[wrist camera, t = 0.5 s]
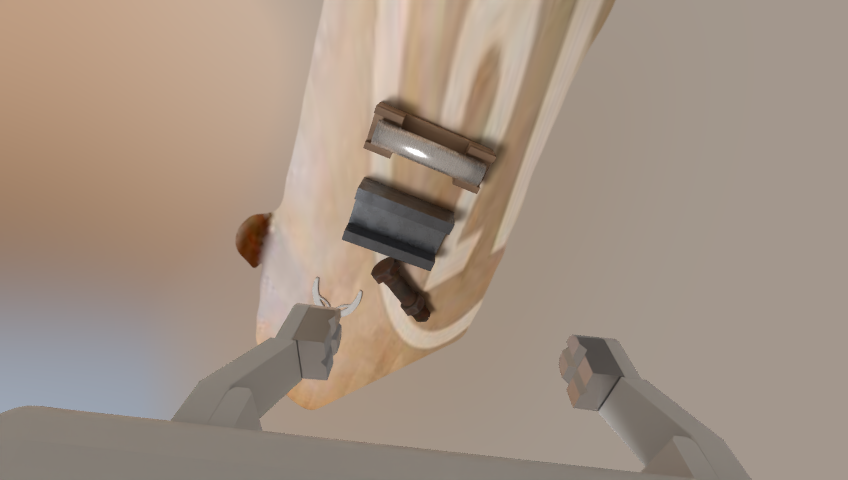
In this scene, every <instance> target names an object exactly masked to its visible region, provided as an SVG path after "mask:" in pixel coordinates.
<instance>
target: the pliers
mask: <svg viewBox="0 0 848 480" xmlns="http://www.w3.org/2000/svg"><path fill="white" fill-rule="evenodd" d="M318 283H319V277H316V279H315V281H314V284H313V289H312V294H313V299H314V302H315V304H316V305H318V306H324V304H323V303H322V301H321V300H323V301H324V302H325V303H326V304H327V305H328V307H330V304H329V303H328V301H327V300H326V299H325V298H323V297H322V296H321V295H320V294H319V289H318ZM361 296H362V290H360V291H359V293H358V295H357V297H356V298H355V300H354V301H353V302H352V304H344V305H340V306H338V307H336V308H341V307H347V308H346V309H344V310H341V317H343V316H346V315H348V314H350V313H351V312H352V311H354V309H355V308H356V307H357V306H358V304H359V302H360V300H361Z"/></svg>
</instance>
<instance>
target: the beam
mask: <svg viewBox="0 0 848 480" xmlns="http://www.w3.org/2000/svg"><path fill="white" fill-rule="evenodd" d="M374 113H375V115H374V118H373V121H372V124H371V128H370V131H369V134H368V138H367V140H366V141H365V145H364V148H365V149H367V150H370V151H372V152H375V153H377V154H380V155H382V156H385V157H387V158H389V159H390V157H391V155H392V152H390V151H387V150H385V149H382V148H380V147H377V146H375V145H372V144H371V140H372V137H373V133H374V130H375V128H376V125H377V123H378V121H379V119H381V120H383V121H386V122H388V123H390V124H393V125H395V126H397V127H400V128H402V129H404V130H407V131H409V132H412V133H414V134H416V135H419V136H421V137H423V138H426V139H428V140H430V141H433V142H435V143H437V144H440V145H442V146H445V147H447V148H449V149H452V150H454V151H456V152H459V153H461V154H463V155H466V156H468V157H471V158H473V159H475V160H478V161H480V162H482V163H485V164H486V171H485V174H486V172H487V170H488V168H489V166H490V164H491V163H492V164H493V163H494V161H495V159H496V156H495V154H494V152H493V150H492V149H489V148H487V147H485V146H482V145H480V144H478V143H476V142H473V141H471V140H469V139H466V138H464V137H462V136H459V135H457V134H455V133H452V132H450V131H448V130H445V129H443V128H441V127H439V126H436V125H434V124H432V123H429V122H427V121H425V120H422V119H420V118H418V117H415V116H413V115H411V114H408V113H406V112H404V111H402V110H399V109H397V108H395V107H392V106H390V105H388V104H385V103H383V102H380V103H379V104H378V105H377V106H376V108H375V111H374ZM485 174H484V176H485ZM484 176H483V178H484ZM452 178H453V177H452ZM483 178H482V180H483ZM482 180H481V181H482ZM480 183H481V182H480ZM453 185H456V186H458V187H461V188H463V189H466V190H468V191H471V192H473V193H476V194H477V193H478V191H479V189H480V187H479V185H480V184H479V185H478V186H477V187H475V186H472V185H470V184H468V183H465V182H463V181H460V180H458V179H455V178H453Z"/></svg>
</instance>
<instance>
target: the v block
mask: <svg viewBox="0 0 848 480" xmlns="http://www.w3.org/2000/svg"><path fill="white" fill-rule="evenodd" d="M355 199H356V201H355V204H354V208H353V211H352V214H351V217H350V220H349V223H348V225H347V227H346V229H345V231H344V234H343V237H342V240H345V241H347V242H350V243H353V244H356V245H359V246H361V247H364V248H367V249H370V250H373V251H375V252H378V253H381V254H384V255H386V256H389V257H392V258H395V259H398V260H400V261H403V262H406V263H409V264H412V265H414V266H417V267H420V268H423V269H426V270H428V271H431V269H432V267H433V265H434V263H435V254H436V252H437V250H438V248H439V246H440V244H441V242H442V240H443V238H444V236H445V234H448V235H449V234H450V232H451V231H452V229H453V227H454V212H451V211H449V210H446V209H444V208H441V207H439V206H436V205H434V204H431V203H429V202H426V201H423V200H421V199H418V198H416V197H413V196H411V195H408V194H406V193H403V192H401V191H398V190H395V189H393V188H390V187H388V186H385V185H383V184H380V183H378V182H375V181H372V180H370V179H367V178H365V177H364V179H363V180H362V182H361V184H360V185H359V187H358V190H357V193H356V196H355Z"/></svg>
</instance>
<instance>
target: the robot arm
mask: <svg viewBox="0 0 848 480" xmlns="http://www.w3.org/2000/svg"><path fill="white" fill-rule="evenodd" d="M340 318H341V310H340V309H339V308H333V307H325V306H318V305H308V304H301V303H297V304H295V305H294V306H293V308H292V310H291V311H290V313H289V315H288V317H287V318H286V320H285V322H284V323H283V325H282V327H281V329H280V330H279V332H278V334H277V335H276V337H275V338H269V339H268V340H266V341H264V342H263V343H261V344H259V345H258V346H256V347H255V348H253V349H251V350H250V351H248V352H247V353H245V354H243V355H242V356H240V357H238V358H237V359H235V360H233V361H232V362H230V363H229V364H227V365H225V366H224V367H222V368H221V369H219V370H217V371H216V372H214V373H212V374H211V375H209V376H207V377H206V378H204V379H202V380H201V381H199V383H198V384H197V386H196V387H195V389H194V390H193V391H192V392H191V394H190V395H189V396H188V398H187V399H186V400H185V402H184V403H183V404H182V406H181V407H180V409H179V410H178V411H177V413H176V414H175V415H174V417H173V418H172V419H171V421H167V420H158V419H149V418H140V417H130V416H122V415H113V414H104V413H95V412H84V411H76V410H68V409H59V408H52V407H44V406H23V407H18V408H14V409H11V410H8V411H6V412H3V413H1V414H0V480H751V478H750V477H749V475H748V474H747V473H746V471H745V470H744V468H743V467H742V465H741V464H740V463H739V461H738V460H737V458H736V457H735V456H734V454H733V453H732V451H731V450H730V449H729V447H728V446H727V444H726V443H725V442H724V440H723V439H722V438H720V437H719V436H718V435H716V434H715V433H714V432H712V431H711V430H710V429H709V428H707V427H706V426H705V425H704V424H702V423H701V422H700V421H698V420H697V419H696V418H695V417H693V416H692V415H691V414H689V413H688V412H687V411H685V410H684V409H683V408H682V407H680V406H679V405H678V404H677V403H675V402H674V401H673V400H671V399H670V398H669V397H668V396H666V395H665V394H663V393H662V392H661V391H660V390H659V389H657V388H656V387H655V386H653V385H652V384H651V383H650V382H648V381H647V380H643V379H641V377H640V376H639V374H638V372H637V371H636V369H635V367H634V366H633V364H632V362H631V361H630V359H629V358H628V356H627V354H626V353H625V351H624V349H623V348H622V346H621V344H620V343H619V341H617V340H616V339H611V338H599V337H590V336H581V335H571V336H570V337H569V339H568V340H567V344H568V348H566V349H564V350H563V351H562V353H561V355H560V360H559V368H560V373H561V375H562V378H563V379H564V380H565V381H566V382H567V383H568V384H569V385H568V387H567V392H568V395H569V398H570V401H571V403H572V406H573V408H579V409H586V410H593V411H599V412H598V413H599V414H600V415H601V416H602V417H603V419H604V420H605V421H606V422H607V423H608V424H609V426H610V427H611V428H612V429H613V430H614V431H615V432H616V434H617V435H618V436H619V437H620V438H621V439H622V440H623V441H624V443H625V444H626V445H627V446H628V447H629V448H630V449H631V450H632V452H633V453H634V454H635V455H636V456H637V457H638V458H639V460H640V461H641V462H642V463H643V464H644V465H645V466H646V467H645V468H644V469H643V470H642V471H641V472H630V471H621V470H612V469H603V468H594V467H585V466H575V465H566V464H558V463H549V462H539V461H530V460H521V459H512V458H502V457H493V456H484V455H475V454H466V453H457V452H447V451H439V450H430V449H421V448H412V447H403V446H393V445H384V444H375V443H366V442H357V441H348V440H339V439H329V438H320V437H312V436H302V435H294V434H285V433H275V432H267V431H262V427H261V424H260V420H259V418H261V417H262V416H263V415H264V414H265V413H266V412H267V411H268V410H269V409H270V408H272V407H273V406H274V404H276V403H277V402H278V401H279V400H280V399H281V398H282V397H283V396H284V395H286V394H287V393H288V392H289V391H290V390H291V389H292V388H293V387H294V386H295V385H297V384H298V383H299V382H300V381H301V380H302V378H305V379H318V380H327V379H328V377H329V374H330V371H331V368H332V365H333V355H334V354H336V353H337V351H338V348H339V345H340V340H341V332H342V328H341V325H340V324H339V321H340Z"/></svg>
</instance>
